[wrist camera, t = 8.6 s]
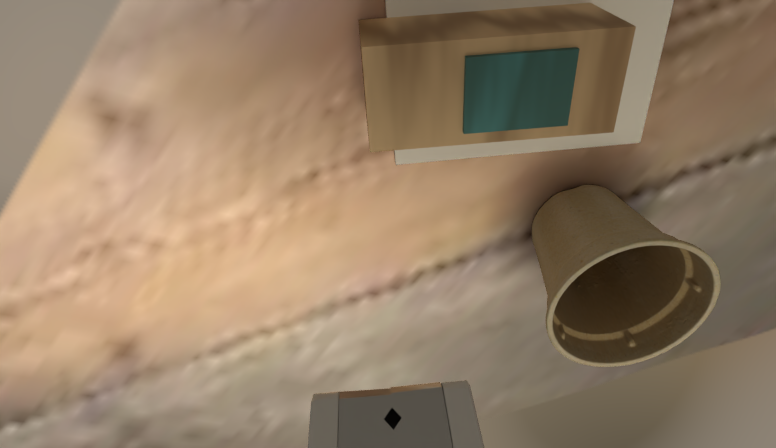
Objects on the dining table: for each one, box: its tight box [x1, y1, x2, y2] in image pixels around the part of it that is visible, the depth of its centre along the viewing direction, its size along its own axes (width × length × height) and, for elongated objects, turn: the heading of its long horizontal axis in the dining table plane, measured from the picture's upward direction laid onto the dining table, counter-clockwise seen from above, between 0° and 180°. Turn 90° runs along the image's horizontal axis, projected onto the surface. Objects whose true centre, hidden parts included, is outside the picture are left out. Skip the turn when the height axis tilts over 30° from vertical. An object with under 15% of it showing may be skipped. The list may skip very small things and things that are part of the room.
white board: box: [385, 0, 674, 165], centre depth 28 cm, size 15×12×1 cm
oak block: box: [359, 3, 636, 152], centre depth 25 cm, size 5×5×12 cm
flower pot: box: [532, 185, 720, 367], centre depth 32 cm, size 9×9×9 cm
